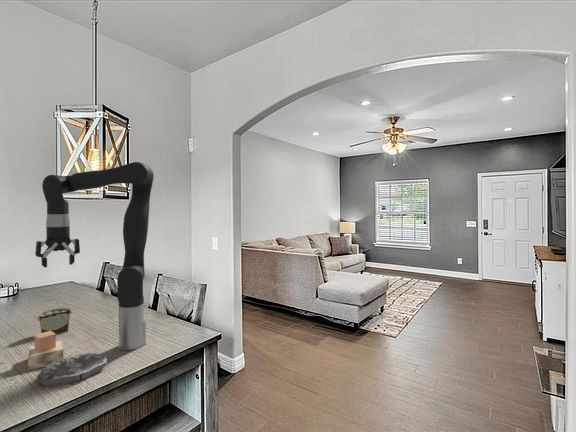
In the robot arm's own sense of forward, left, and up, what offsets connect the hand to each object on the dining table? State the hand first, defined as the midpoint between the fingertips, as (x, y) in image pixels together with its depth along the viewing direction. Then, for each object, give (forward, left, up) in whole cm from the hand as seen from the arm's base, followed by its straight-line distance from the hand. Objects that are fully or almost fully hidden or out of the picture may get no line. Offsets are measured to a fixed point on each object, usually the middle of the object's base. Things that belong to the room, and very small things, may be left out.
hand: (58, 265), depth 125 cm
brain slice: (+2, +26, -34) cm, 43 cm away
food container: (-2, -18, -33) cm, 38 cm away
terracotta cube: (+6, +9, -28) cm, 31 cm away
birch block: (+6, +9, -33) cm, 35 cm away
